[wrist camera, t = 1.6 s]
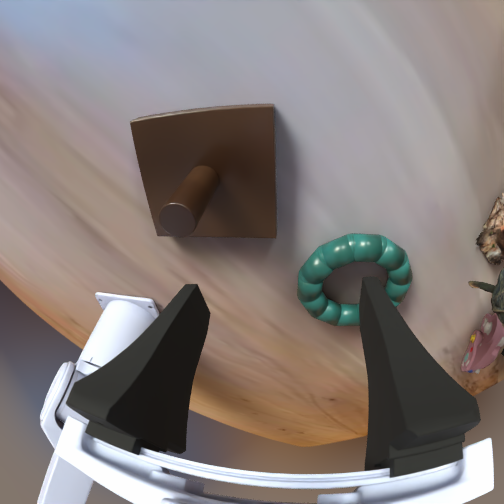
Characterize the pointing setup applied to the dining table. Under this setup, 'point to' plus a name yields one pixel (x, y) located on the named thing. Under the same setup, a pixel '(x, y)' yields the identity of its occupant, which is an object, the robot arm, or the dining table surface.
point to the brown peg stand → (210, 170)
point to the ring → (343, 254)
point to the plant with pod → (494, 255)
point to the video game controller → (484, 345)
